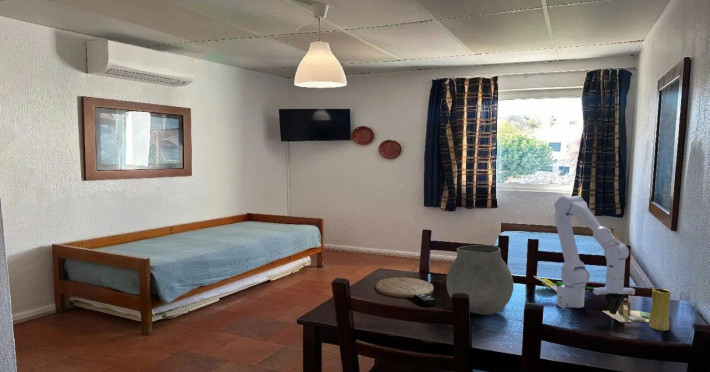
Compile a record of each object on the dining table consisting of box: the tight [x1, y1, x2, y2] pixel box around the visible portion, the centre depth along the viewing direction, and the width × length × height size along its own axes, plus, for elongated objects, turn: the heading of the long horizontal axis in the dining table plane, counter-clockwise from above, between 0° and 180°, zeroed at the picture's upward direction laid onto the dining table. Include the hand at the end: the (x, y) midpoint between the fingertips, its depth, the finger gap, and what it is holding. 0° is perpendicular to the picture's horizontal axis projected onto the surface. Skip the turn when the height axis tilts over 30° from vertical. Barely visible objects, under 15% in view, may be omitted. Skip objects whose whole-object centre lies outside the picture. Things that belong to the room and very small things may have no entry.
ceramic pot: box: [446, 244, 514, 316], centre depth 177 cm, size 24×24×25 cm
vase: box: [648, 287, 671, 331], centre depth 162 cm, size 6×6×14 cm
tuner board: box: [602, 310, 650, 323], centre depth 173 cm, size 16×11×2 cm
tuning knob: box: [617, 297, 632, 316], centre depth 173 cm, size 10×4×5 cm, turn 154°
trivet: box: [375, 277, 434, 299], centre depth 205 cm, size 25×25×2 cm
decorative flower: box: [533, 275, 595, 293], centre depth 207 cm, size 13×5×30 cm
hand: (612, 313), depth 170 cm, fingers closed
